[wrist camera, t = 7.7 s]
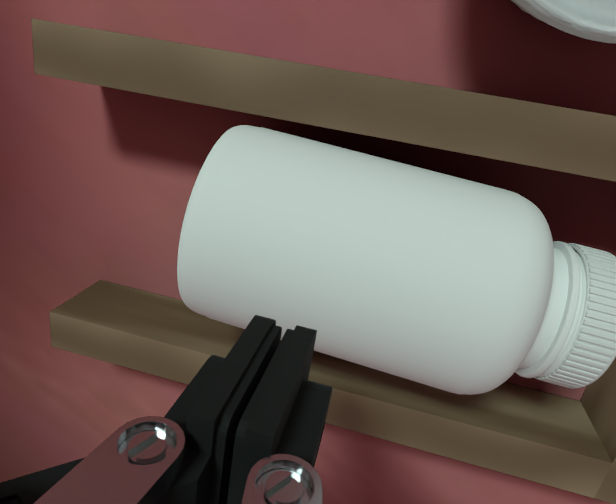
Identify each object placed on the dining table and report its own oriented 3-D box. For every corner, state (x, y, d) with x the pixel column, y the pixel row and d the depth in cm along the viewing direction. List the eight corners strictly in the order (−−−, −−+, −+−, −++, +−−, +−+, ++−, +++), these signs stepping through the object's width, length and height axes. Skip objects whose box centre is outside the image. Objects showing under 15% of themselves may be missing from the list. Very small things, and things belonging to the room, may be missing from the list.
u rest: (96, 29, 21) (31, 18, 18) (763, 141, 17) (856, 156, 14) (100, 310, 27) (51, 346, 23) (607, 443, 23) (644, 512, 19)
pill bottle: (253, 82, 19) (632, 179, 17) (247, 225, 24) (530, 306, 23) (157, 201, 13) (699, 357, 12) (179, 348, 19) (543, 464, 18)
